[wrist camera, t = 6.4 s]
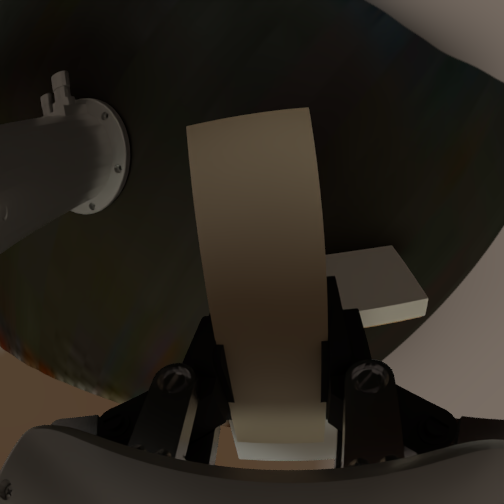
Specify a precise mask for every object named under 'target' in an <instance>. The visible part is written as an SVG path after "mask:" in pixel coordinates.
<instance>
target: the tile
mask: <svg viewBox="0 0 504 504" xmlns="http://www.w3.org/2000/svg"><path fill="white" fill-rule="evenodd" d="M325 257H326V276H335V277H336V281H337V286H338V290H339V295H340V299H341V304H342V308H343V309H354V308H358V310H359V312H360V316H361V320H362V323H363V327H364V328H366V327H372V326H378V325H383V324H389V323H394V322H399V321H404V320H409V319H413V318H418V317H422V316H425V314H426V308H427V302H428V297H427V296H426V294H425V292H424V291H423V289H422V288H421V286H420V285H419V283H418V282H417V280H416V279H415V277H414V276H413V274H412V273H411V271H410V270H409V268H408V267H407V266H406V264H405V263H404V261H403V260H402V259H401V257H400V256H399V254H398V253H397V252H396V250H395V249H394V247H393V246H392V245H390V246H384V247H377V248H370V249H363V250H356V251H349V252H342V253H335V254H328V255H325Z"/></svg>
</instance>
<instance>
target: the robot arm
mask: <svg viewBox="0 0 504 504" xmlns="http://www.w3.org/2000/svg"><path fill="white" fill-rule="evenodd" d="M51 80H52V89H53V93H54V96H55V103H54V104H53V99H52V93H47V94H45V95H43V96H41V106H42V109H43V115H44V116H43V117H41V118H34V119H28V120H22V121H16V122H11V123H6V124H2V125H0V254H1V253H2V252H4V251H5V250H6V249H8V248H9V247H11V246H12V245H14V244H15V243H17V242H18V241H20V240H21V239H23V238H24V237H26V236H28V235H29V234H31V233H32V232H34V231H36V230H37V229H39V228H40V227H42V226H44V225H45V224H47V223H49V222H51V221H52V220H54V219H56V218H57V217H59V216H61V215H63V214H64V213H66V212H68V211H73V212H75V213H78V214H85V215H86V214H93V213H96V212H99V211H101V210H103V209H104V208H106V207H108V206H109V205H110V204H111V203H112V202H113V201H115V199H116V198H117V197H118V195H119V194H120V193H121V191H122V189H123V187H124V185H125V183H126V179H127V176H128V173H129V166H130V144H129V138H128V134H127V131H126V128H125V125H124V123H123V121H122V119H121V118H120V116H119V115H118V113H117V112H116V111H115V110H114V109H113V108H112V107H111V106H110V105H108V104H107V103H106V102H103V101H101V100H98V99H92V98H84V99H78V100H75V97H74V96H71V94H70V80H69V73H68V71H60V72H58V73H56V74H54V75H53V76H52V77H51ZM327 305H328V341H321V402H326V420H328V423H329V424H330V425H332V426H333V427H335V428H336V429H337V430H336V449H335V464H334V469H321V470H289V471H288V470H256V469H243V468H233V467H232V468H231V467H224V466H216V465H215V459H216V453H217V447H218V440H219V434H220V425H222V424H223V423H225V422H226V420H232V417H231V411H230V407H229V403H228V402H231V403H235V401H234V396H233V392H232V387H231V382H230V377H229V372H228V366H227V361H226V356H225V350H224V345H220V344H216V340H215V337H214V331H213V326H212V320H211V315H210V314H209V316H204V317H203V318H202V319H201V322H200V324H199V326H198V328H197V331H196V333H195V335H194V338H193V340H192V342H191V344H190V347H189V349H188V351H187V354H186V356H185V358H184V361H183V363H175V364H170V365H167V366H165V367H163V368H162V369H160V370H159V371H158V372H157V373H156V375H155V376H154V378H153V381H152V383H151V386H150V388H149V391H147V392H145V393H143V394H141V395H139V396H137V397H135V398H133V399H131V400H129V401H127V402H124V403H122V404H120V405H118V406H116V407H114V408H111V409H109V410H108V411H106V412H105V413H104V414H103V415H102V416H101V417H99V416H98V415H93V416H85V417H76V418H66V419H59V420H56V421H55V422H53V423H52V424H51V425H42V426H36V427H33V428H31V429H29V430H28V431H26V432H25V433H24V434H23V435H22V437H21V438H20V439H19V440H18V442H17V443H16V445H15V446H14V448H13V449H12V451H11V453H10V454H9V456H8V458H7V459H6V461H5V463H4V465H3V467H2V469H1V470H0V504H504V420H498V419H484V418H473V417H465V416H462V417H461V418H460V419H456V418H454V417H453V415H452V414H451V413H449V412H448V411H447V410H445V409H443V408H441V407H439V406H436V405H435V404H433V403H431V402H429V401H427V400H425V399H423V398H421V397H419V396H417V395H415V394H413V393H411V392H409V391H407V390H405V389H404V388H402V387H400V386H398V385H396V384H395V378H394V374H393V371H392V369H391V368H390V367H389V366H388V365H387V364H385V363H384V362H382V361H379V360H375V359H371V355H370V350H369V346H368V342H367V338H366V335H365V331H364V327H363V323H362V320H361V316H360V312H359V310H358V308H354V309H343V308H342V304H341V299H340V295H339V290H338V286H337V281H336V277H335V276H327Z"/></svg>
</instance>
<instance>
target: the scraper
mask: <svg viewBox="0 0 504 504" xmlns="http://www.w3.org/2000/svg"><path fill="white" fill-rule="evenodd" d="M186 129H187V141H188V152H189V163H190V173H191V182H192V191H193V199H194V208H195V216H196V224H197V231H198V239H199V246H200V253H201V259H202V266H203V273H204V279H205V285H206V291H207V297H208V303H209V309H210V315H211V320H212V326H213V331H214V337H215V340H216V344H220V345H224V350H225V356H226V361H227V366H228V372H229V377H230V382H231V387H232V392H233V396H234V401H235V403H231V402H228V403H229V407H230V411H231V417H232V420H229V422H230V426H231V430H232V434H233V438H234V442H235V446H236V449H237V453H238V457H239V459H251V460H272V461H300V460H322V459H335V449H336V430H337V429H336V428H335V427H333V426H332V425H330V424H329V423H328V420H326V402H321V341H328V305H327V276H326V257H325V241H324V228H323V215H322V204H321V194H320V185H319V176H318V168H317V159H316V152H315V144H314V137H313V131H312V124H311V118H310V112H309V107H308V108H296V109H286V110H277V111H269V112H261V113H254V114H248V115H241V116H235V117H230V118H224V119H219V120H214V121H209V122H204V123H200V124H195V125H191V126H186Z"/></svg>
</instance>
